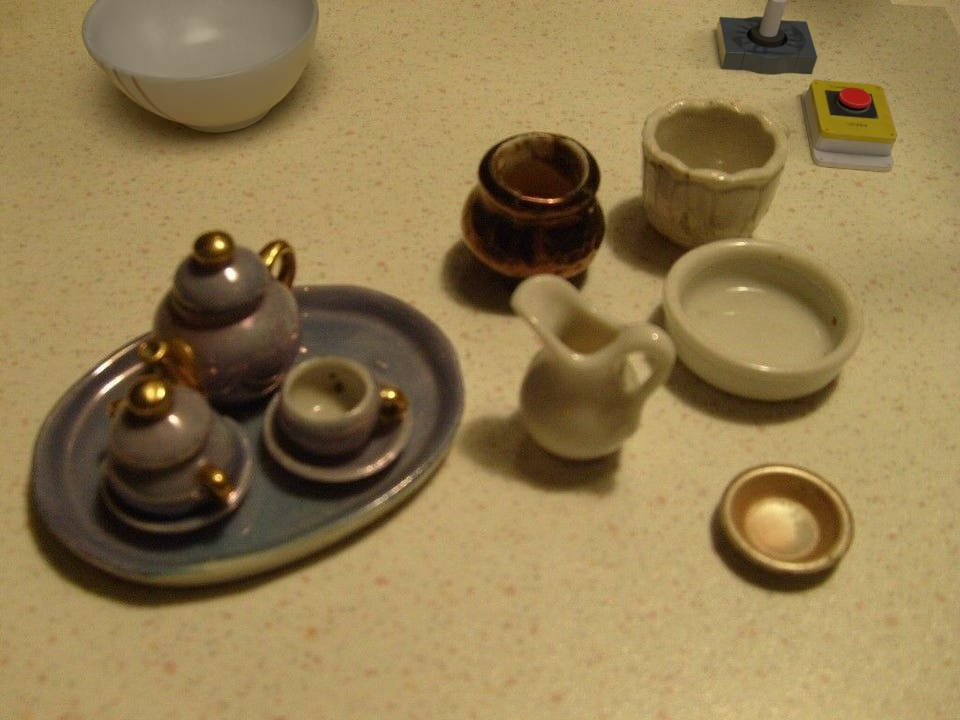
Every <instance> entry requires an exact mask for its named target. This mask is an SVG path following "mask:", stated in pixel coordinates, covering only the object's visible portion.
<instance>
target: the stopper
mask: <svg viewBox="0 0 960 720" xmlns="http://www.w3.org/2000/svg"><path fill="white" fill-rule="evenodd" d="M787 3H788V0H767V2H766V5H765V8H764V12H763V16H762V17H763V19H762V22H761V24H760V25H756V26H754V27H753V28H752V30H751V33H750V37H749V40H750V41H751V42H753V43H755V44H757V45H759V46H763V47H771V48H775V47H781V45H782V42H783V39H784V32H783V31H782V30H781V29H780V28H779V26H780V23H781V20H783V16H784V12H785V9H786V6H787Z"/></svg>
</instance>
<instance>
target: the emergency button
mask: <svg viewBox="0 0 960 720" xmlns="http://www.w3.org/2000/svg"><path fill="white" fill-rule="evenodd" d="M800 102H801V103H800V104H801V107H802V112H803V117H804V123H805V127H806V132H807V133H806V134H807V138H808V143H809V148H810V154H811V158H812V161H813V163H814V164H815V165H817V166H819V167H823V168H837V169H847V170H857V171H858V170H859V171H870V172H881V173H887V172H888V173H889V172H891V171H892V170H893V167H894V165H895V163H894V158H893V154H892V151H893V148H894V146H895V143H896V140H897V136H898V133H897V129H896V126H895V123H894V120H893V117H892V113H891V109H890V106H889V103H888V100H887V96H886V94H885V90H884V88H883V87H882V85H879V84H875V83H864V82H863V83H861V82H851V81H850V82H849V81H838V80H837V81H836V80H825V79H814V80H812V81H811V82H810V84H809V86H808V89H805V90H804V91H802V93H801V96H800Z"/></svg>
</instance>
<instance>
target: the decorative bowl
mask: <svg viewBox="0 0 960 720" xmlns="http://www.w3.org/2000/svg"><path fill="white" fill-rule="evenodd" d="M319 19H320V9H319V2H318V0H95V1H94V2H93V3H92V4H91V6H90V7H89V9H88V10H87V12H86V14H85V15H84V17H83V20H82V24H81V38H82V39H81V40H82V42H83V45H84V48H85V49H86V51H87V53H88V54H89V56H90V57H91V59H92V60H93V62H94V63H95V64H96V66H97V67H98V68H99V69H100V71H101V72H102V73H103V74H104V75H105V77H106V78H108V80H109V81H110V82H111V83H112V84H114V86H115V87H116V88H117V89H118V90H119V91H121V92H122V93H123V94H124V95H125V96H126V97H128V98H129V99H131V100H132V101H133V102H134V103H136V104H137V105H139V106H141V107H142V108H144V109H145V110H147V111H148V112H151V113H152V114H155V115H157V116H159V117H161V118H164V119H166V120H170V121H172V122H176V123H179V124H182V125H184V126H186V127H188V128H189V129H192V130H195V131H199V132H204V133H211V134H213V133H215V134H216V133H218V134H219V133H229V132H230V133H231V132H234V131H239V130H242V129H245V128H248V127H250V126H252V125H254V124H256V123H258V122H259V121H261V120H262V119H263V118H264V117H266V116H267V115H268V113H270V111H271V109H272V108H273V107H274V106H275V105H277V104H279V102H281V101H282V100H283V99H284V98H285V97H286V96H287V95H288V94H289V93H290V92H291V90H292V89H294V87H295V86H296V84H297V82H298V81H299V79H300V78H301V76H302V75H303V73H304V70H305V69H306V68H307V65H308V63H309V60H310V58H311V55H312V52H313V50H314V46H315V42H316V37H317V35H318V28H319Z"/></svg>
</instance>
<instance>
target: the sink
mask: <svg viewBox="0 0 960 720" xmlns="http://www.w3.org/2000/svg"><path fill="white" fill-rule="evenodd" d="M762 19H763V16H750V17H729V16H719V17H718V21H717V25H716V28H715V39H716V45H717V49H718V50H717V51H718V55H719V56H718V57H719V62H720V65H721V69H722V70H738V71H740V70H742V71H750V72H753V73H755V74H760V75H761V74H763V75H779V74H785V73H792V74H804V75H805V74H808V75H812V74H813V72H814V68H815V66H816V62H817V61H818V55H817V50H816V47H815V45H814V41H813V38H812V35H811V32H810V27H809V25H808V22H807V21H803V20H788V19H787V20H785V19H781V23H780V26H779V28H780V29H781V30H782V31H783V32H784V39H783V42H782V45H781V47H775V48H771V47H763V46H759V45H757V44H755V43H753V42H751V41H750V40H749V37H750V33H751V30H752V28H753V27H754V26H756V25H760V24H761V22H762Z"/></svg>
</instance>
